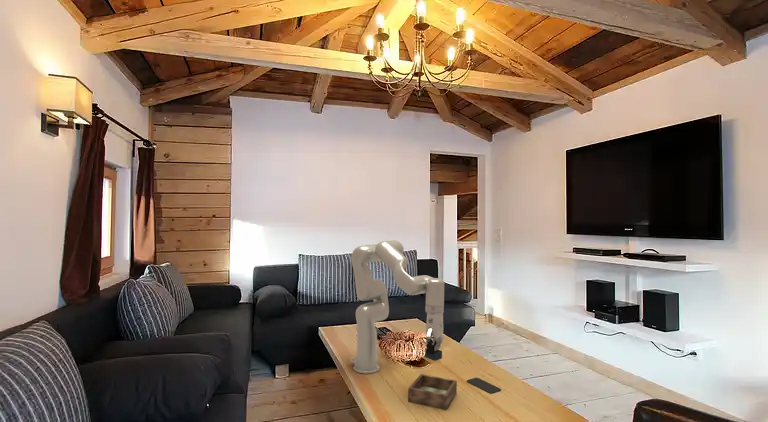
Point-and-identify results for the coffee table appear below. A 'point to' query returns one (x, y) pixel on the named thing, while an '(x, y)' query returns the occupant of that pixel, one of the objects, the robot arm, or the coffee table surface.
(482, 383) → the phone
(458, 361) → the coffee table surface
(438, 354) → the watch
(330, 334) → the coffee table surface
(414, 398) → the box
